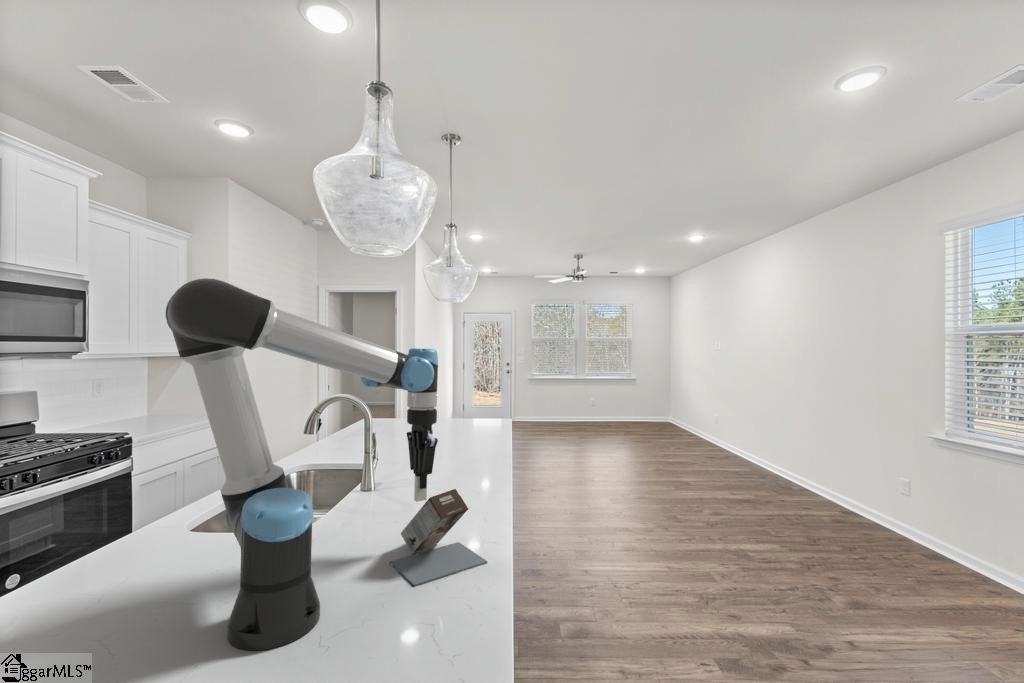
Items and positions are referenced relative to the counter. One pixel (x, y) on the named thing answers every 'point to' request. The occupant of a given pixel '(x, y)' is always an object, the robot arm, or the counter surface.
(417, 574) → the mat
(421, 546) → the coffee box
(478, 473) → the counter surface
